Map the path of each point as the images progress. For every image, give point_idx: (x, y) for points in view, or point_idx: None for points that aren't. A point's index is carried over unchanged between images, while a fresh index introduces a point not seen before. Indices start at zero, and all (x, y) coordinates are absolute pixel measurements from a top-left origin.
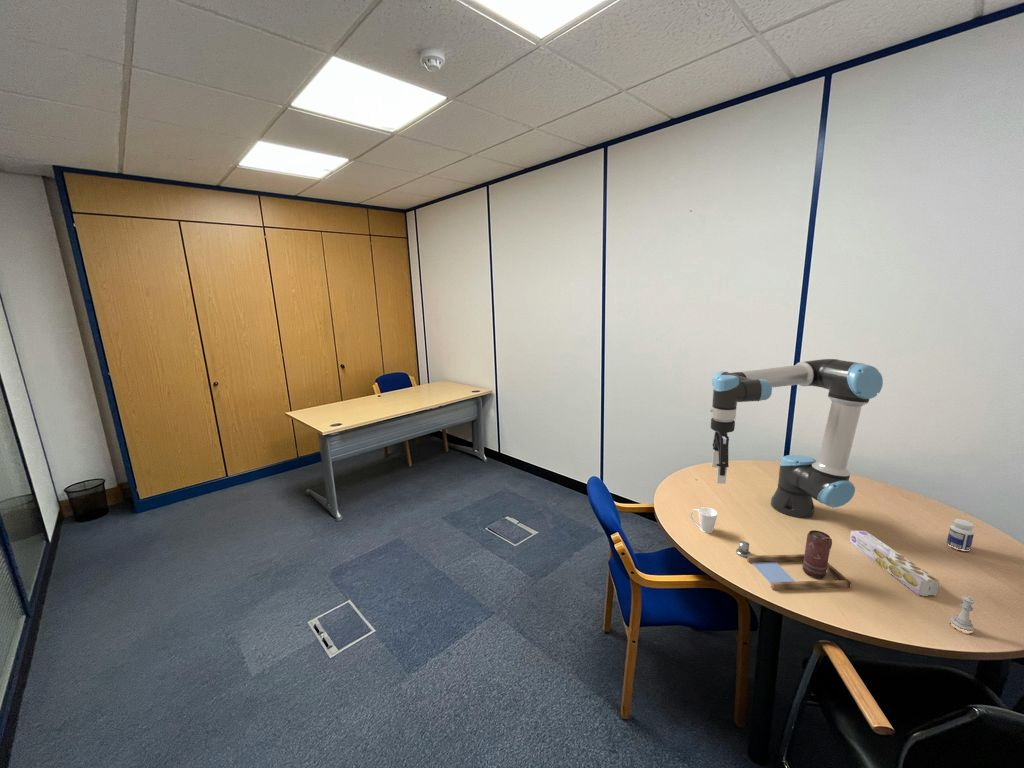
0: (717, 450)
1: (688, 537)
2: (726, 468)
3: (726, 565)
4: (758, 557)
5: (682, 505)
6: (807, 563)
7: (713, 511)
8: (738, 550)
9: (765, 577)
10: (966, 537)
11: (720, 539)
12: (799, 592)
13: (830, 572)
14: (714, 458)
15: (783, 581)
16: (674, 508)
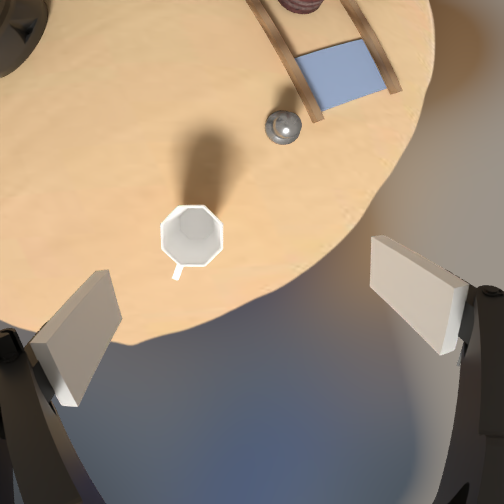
0: (43, 375)
1: (258, 264)
2: (454, 279)
3: (349, 173)
4: (313, 96)
5: None
6: (320, 1)
7: (171, 216)
8: (280, 139)
9: (364, 95)
10: None
11: (232, 182)
12: None
13: None
14: (95, 348)
15: (364, 63)
16: None
